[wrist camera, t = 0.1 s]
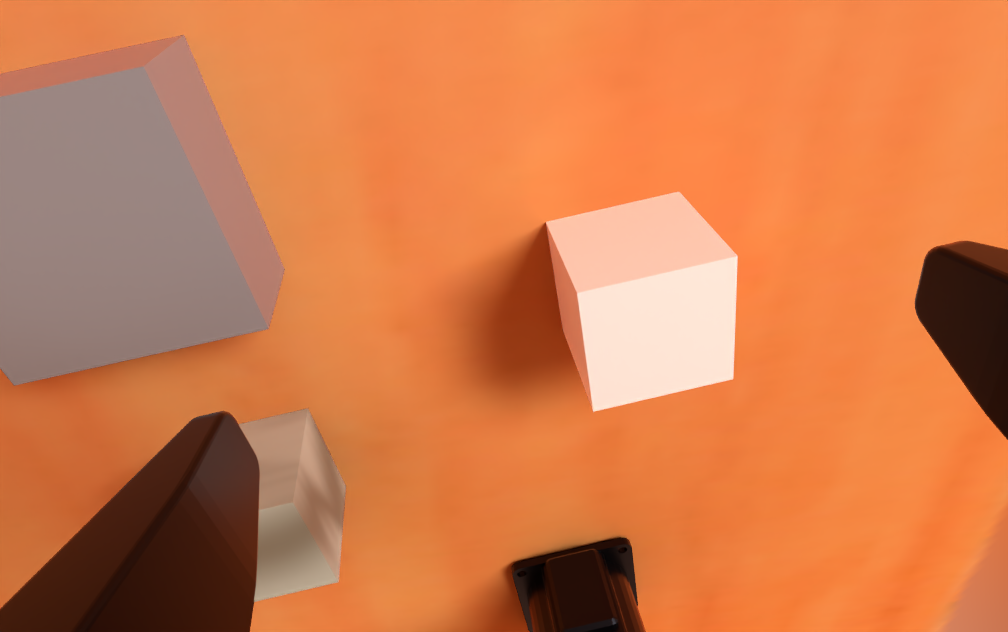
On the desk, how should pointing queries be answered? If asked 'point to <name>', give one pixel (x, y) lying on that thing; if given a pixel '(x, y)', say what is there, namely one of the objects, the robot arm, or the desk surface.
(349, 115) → the desk surface
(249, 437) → the cube block
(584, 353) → the off-white block
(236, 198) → the grey base block
